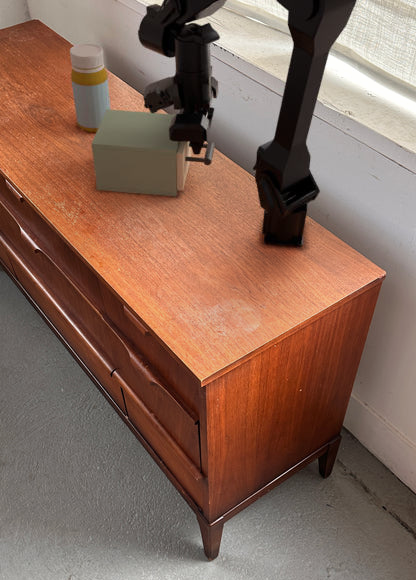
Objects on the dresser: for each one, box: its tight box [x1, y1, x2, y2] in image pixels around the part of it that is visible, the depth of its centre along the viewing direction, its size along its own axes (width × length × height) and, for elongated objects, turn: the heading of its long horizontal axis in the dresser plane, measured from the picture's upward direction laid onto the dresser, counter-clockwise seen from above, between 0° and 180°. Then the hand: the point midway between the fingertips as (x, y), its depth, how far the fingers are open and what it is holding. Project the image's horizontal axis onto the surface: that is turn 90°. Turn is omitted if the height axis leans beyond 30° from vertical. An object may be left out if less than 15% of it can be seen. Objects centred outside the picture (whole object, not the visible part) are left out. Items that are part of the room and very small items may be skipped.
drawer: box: [176, 141, 216, 192], centre depth 114 cm, size 18×11×7 cm, turn 84°
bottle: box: [69, 43, 112, 134], centre depth 124 cm, size 7×7×15 cm
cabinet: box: [91, 109, 180, 197], centre depth 115 cm, size 15×13×9 cm
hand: (196, 153), depth 114 cm, fingers closed, pressing on drawer
